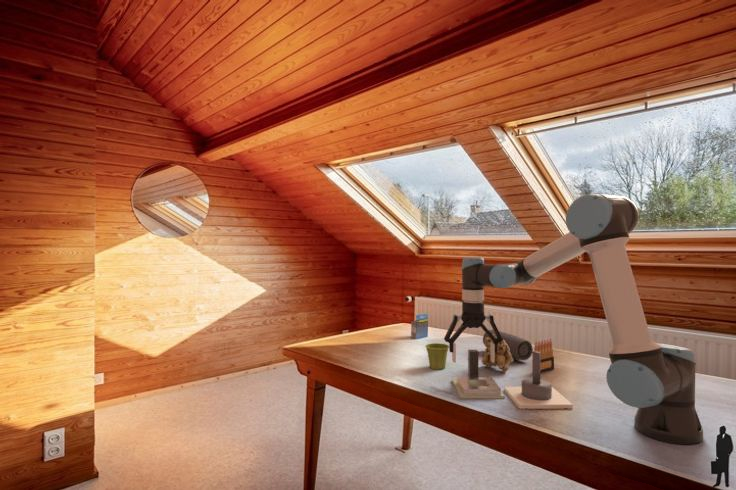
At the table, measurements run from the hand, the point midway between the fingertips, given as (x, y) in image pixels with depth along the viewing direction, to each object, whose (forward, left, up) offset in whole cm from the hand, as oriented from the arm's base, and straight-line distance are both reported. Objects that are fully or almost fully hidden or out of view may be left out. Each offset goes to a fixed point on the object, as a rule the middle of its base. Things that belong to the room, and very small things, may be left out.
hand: (473, 361), depth 158 cm
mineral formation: (+17, -13, -8) cm, 23 cm away
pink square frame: (-6, 0, -7) cm, 9 cm away
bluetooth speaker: (+36, -22, -8) cm, 43 cm away
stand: (-14, -17, -8) cm, 24 cm away
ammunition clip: (+15, -30, -8) cm, 34 cm away
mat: (-5, 0, -8) cm, 10 cm away
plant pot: (+20, +10, -8) cm, 24 cm away
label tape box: (+72, +12, -8) cm, 73 cm away
